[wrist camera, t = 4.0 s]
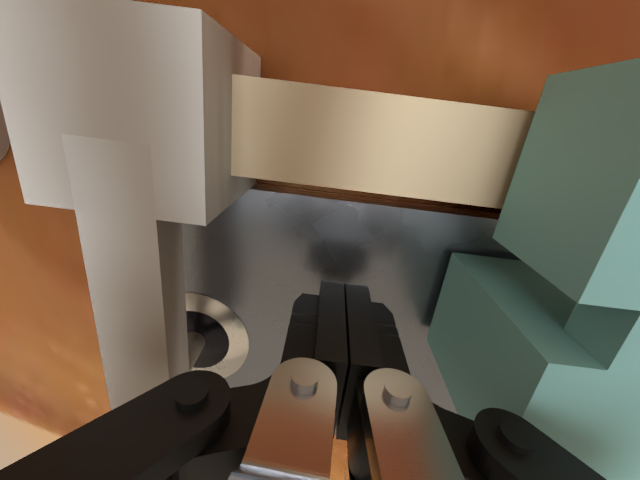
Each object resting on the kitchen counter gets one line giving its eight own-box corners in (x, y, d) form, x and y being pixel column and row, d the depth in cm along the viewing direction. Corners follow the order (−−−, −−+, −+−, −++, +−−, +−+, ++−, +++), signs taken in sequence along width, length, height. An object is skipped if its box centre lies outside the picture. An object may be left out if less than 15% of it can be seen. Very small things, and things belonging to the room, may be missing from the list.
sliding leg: (413, 381, 13) (461, 540, 8) (502, 84, 9) (704, 45, 4) (511, 393, 13) (618, 559, 8) (645, 102, 9) (1021, 84, 4)
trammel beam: (138, 324, 14) (45, 422, 9) (103, 37, 10) (-87, -27, 5) (717, 395, 14) (897, 525, 10) (917, 139, 10) (1390, 157, 6)
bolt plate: (146, 392, 15) (132, 412, 14) (119, 166, 11) (97, 171, 10) (669, 455, 15) (694, 480, 14) (828, 253, 11) (877, 267, 10)
